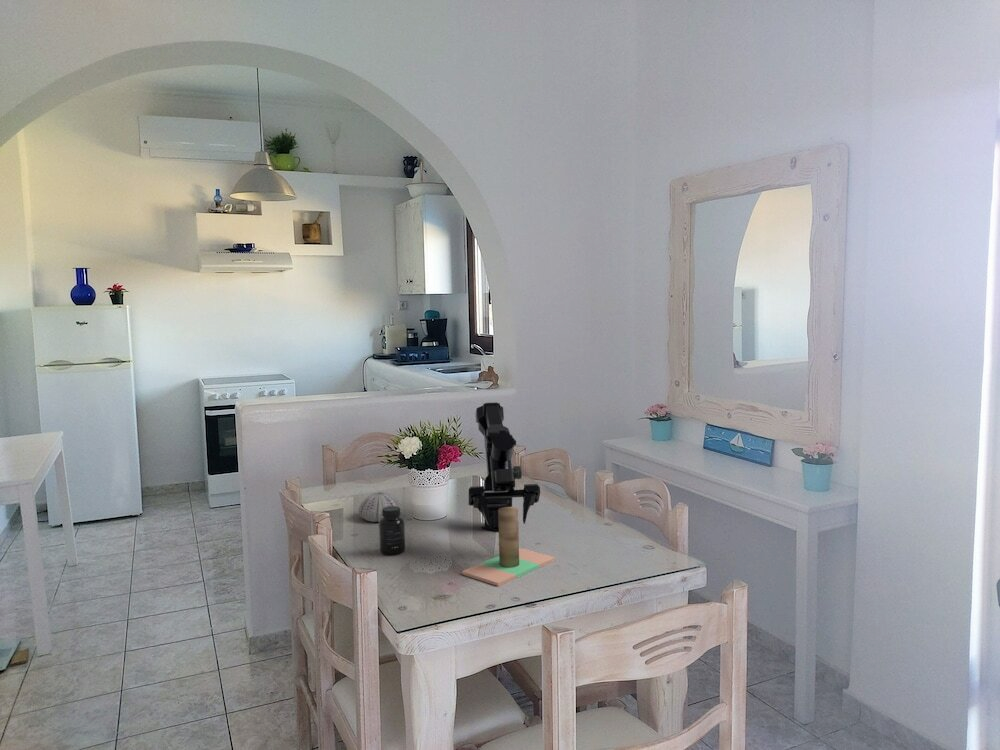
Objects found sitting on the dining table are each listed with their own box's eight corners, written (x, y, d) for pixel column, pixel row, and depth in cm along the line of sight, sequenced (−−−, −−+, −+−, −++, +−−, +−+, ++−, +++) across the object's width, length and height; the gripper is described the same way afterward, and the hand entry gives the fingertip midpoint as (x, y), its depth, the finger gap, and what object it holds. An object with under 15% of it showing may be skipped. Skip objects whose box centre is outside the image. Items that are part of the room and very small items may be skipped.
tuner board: (519, 550, 195) (519, 547, 195) (554, 560, 187) (554, 557, 187) (461, 574, 179) (461, 571, 179) (498, 586, 171) (498, 583, 171)
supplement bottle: (377, 549, 198) (376, 506, 197) (402, 546, 200) (400, 503, 199) (382, 557, 191) (381, 513, 190) (408, 554, 194) (406, 510, 193)
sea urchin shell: (401, 510, 235) (400, 486, 234) (402, 523, 221) (401, 497, 221) (359, 513, 233) (358, 488, 232) (358, 526, 219) (357, 500, 219)
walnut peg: (502, 559, 186) (501, 506, 185) (521, 561, 185) (520, 507, 183) (497, 566, 181) (495, 511, 180) (516, 568, 180) (515, 513, 178)
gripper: (467, 456, 189) (471, 510, 179) (538, 454, 191) (546, 507, 181) (466, 478, 198) (470, 531, 188) (534, 475, 200) (541, 527, 190)
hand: (506, 523), depth 187 cm, fingers open, 9 cm apart
